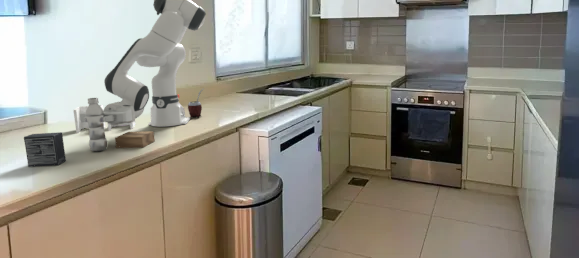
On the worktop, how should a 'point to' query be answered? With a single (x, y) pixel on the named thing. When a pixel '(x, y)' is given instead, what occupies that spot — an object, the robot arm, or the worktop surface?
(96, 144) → the plastic bottle
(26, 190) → the worktop surface
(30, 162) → the small box
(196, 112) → the mate gourd
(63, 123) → the worktop surface
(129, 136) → the plinth
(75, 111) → the pair of white bookends
